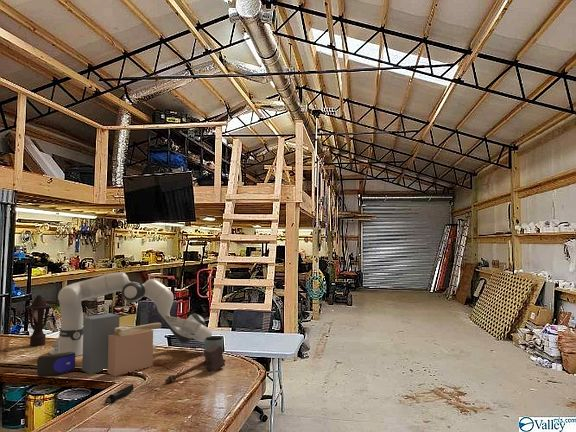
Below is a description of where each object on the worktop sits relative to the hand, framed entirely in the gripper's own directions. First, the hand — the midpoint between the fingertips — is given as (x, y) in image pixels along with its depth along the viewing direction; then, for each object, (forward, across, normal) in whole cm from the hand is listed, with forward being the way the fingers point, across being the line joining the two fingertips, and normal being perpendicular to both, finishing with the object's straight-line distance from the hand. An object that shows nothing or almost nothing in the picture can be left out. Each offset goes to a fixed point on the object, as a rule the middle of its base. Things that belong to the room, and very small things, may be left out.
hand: (171, 317), depth 232 cm
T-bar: (+14, 0, +13) cm, 19 cm away
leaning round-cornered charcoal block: (+31, -22, +44) cm, 58 cm away
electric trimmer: (+28, +30, +42) cm, 59 cm away
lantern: (+17, -89, +36) cm, 98 cm away
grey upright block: (+17, -12, +35) cm, 41 cm away
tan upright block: (+9, 0, +31) cm, 32 cm away
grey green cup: (-22, +20, +13) cm, 33 cm away
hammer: (-4, +31, +23) cm, 39 cm away
